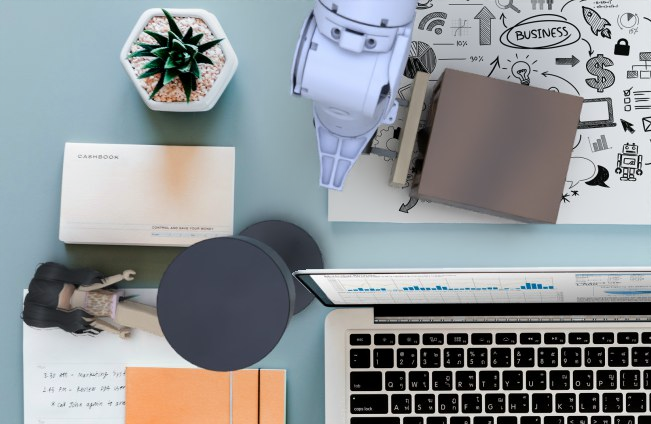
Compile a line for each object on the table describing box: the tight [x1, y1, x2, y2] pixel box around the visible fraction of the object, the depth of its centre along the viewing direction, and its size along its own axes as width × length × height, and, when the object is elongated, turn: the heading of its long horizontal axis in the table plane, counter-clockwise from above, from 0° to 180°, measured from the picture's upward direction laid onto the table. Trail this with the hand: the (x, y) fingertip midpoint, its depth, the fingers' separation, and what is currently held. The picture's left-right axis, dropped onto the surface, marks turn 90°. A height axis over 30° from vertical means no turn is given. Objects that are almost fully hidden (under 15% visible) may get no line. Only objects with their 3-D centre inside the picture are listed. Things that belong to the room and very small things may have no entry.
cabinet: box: [408, 67, 585, 225], centre depth 61 cm, size 13×12×8 cm
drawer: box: [360, 70, 440, 189], centre depth 62 cm, size 15×10×6 cm
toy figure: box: [19, 261, 165, 340], centre depth 64 cm, size 7×6×15 cm
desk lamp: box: [155, 219, 325, 373], centre depth 52 cm, size 10×10×28 cm
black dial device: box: [410, 126, 431, 175], centre depth 61 cm, size 5×7×3 cm
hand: (349, 119), depth 62 cm, fingers closed, pressing on drawer
